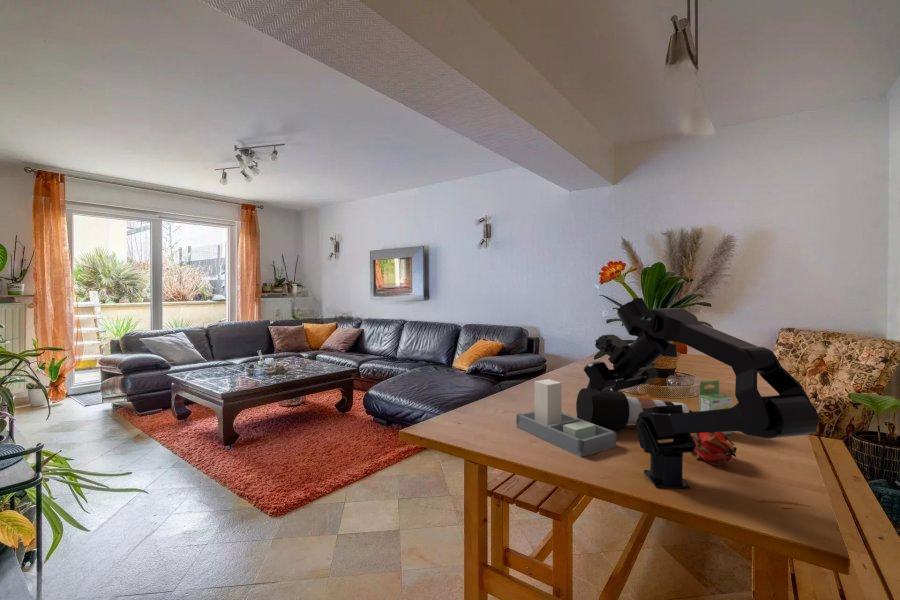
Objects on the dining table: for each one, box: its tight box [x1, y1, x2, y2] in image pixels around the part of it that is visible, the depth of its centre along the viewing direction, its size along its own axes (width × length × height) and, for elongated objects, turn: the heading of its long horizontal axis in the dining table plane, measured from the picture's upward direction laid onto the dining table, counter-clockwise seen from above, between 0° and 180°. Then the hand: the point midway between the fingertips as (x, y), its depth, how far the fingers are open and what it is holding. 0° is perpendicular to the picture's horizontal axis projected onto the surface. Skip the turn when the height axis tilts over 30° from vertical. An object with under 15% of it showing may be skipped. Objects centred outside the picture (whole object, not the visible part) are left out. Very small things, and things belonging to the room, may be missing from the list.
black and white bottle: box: [575, 387, 699, 430], centre depth 112 cm, size 10×34×10 cm, turn 96°
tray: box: [515, 410, 617, 458], centre depth 105 cm, size 23×12×4 cm, turn 30°
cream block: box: [534, 378, 563, 425], centre depth 110 cm, size 5×5×12 cm
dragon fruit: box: [690, 432, 742, 466], centre depth 90 cm, size 8×8×12 cm
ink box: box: [698, 379, 733, 435], centre depth 106 cm, size 7×4×13 cm, turn 105°
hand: (600, 392), depth 96 cm, fingers open, 9 cm apart
